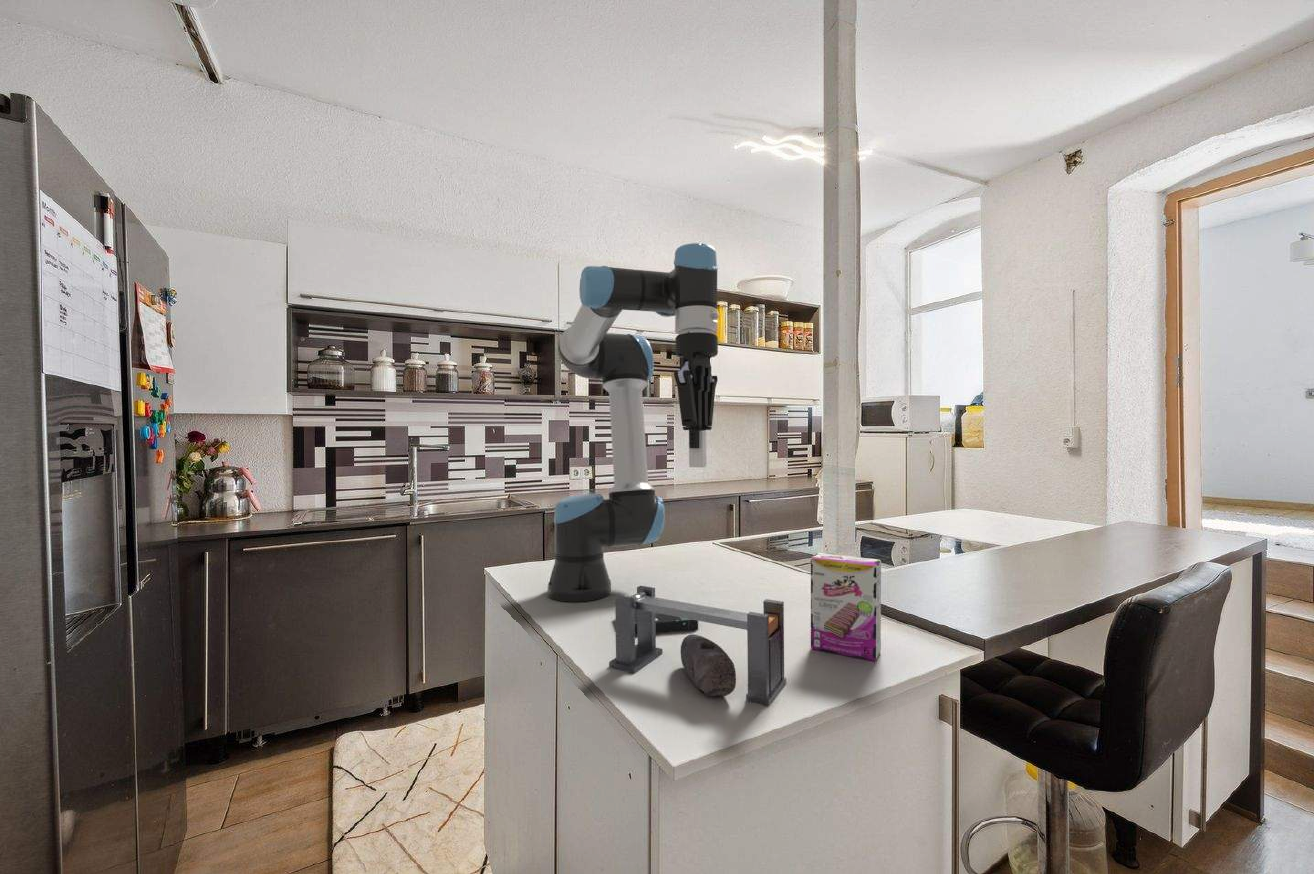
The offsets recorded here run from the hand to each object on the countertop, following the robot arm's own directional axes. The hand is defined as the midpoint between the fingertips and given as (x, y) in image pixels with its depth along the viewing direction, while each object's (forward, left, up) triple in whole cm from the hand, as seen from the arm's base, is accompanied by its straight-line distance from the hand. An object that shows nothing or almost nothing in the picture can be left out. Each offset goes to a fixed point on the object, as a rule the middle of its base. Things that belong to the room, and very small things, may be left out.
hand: (697, 466), depth 98 cm
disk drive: (-7, -13, -33) cm, 36 cm away
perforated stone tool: (+12, +6, -33) cm, 35 cm away
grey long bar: (+10, +4, -24) cm, 26 cm away
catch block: (+10, +16, -32) cm, 37 cm away
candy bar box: (-11, +23, -33) cm, 41 cm away
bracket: (+10, -7, -32) cm, 35 cm away
